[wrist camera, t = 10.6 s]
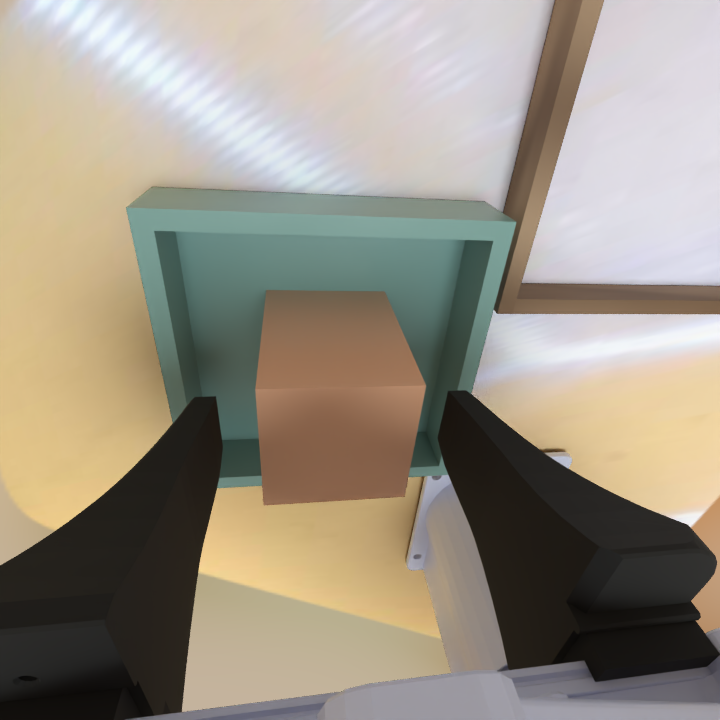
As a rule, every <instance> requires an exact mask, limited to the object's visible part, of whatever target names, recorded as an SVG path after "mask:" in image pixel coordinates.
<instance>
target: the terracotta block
mask: <svg viewBox="0 0 720 720" xmlns="http://www.w3.org/2000/svg"><path fill="white" fill-rule="evenodd" d="M425 389H426V384H425V382H424V379H423V377H422V375H421V373H420V370H419V368H418V366H417V364H416V361H415V359H414V357H413V354H412V352H411V350H410V348H409V345H408V343H407V341H406V339H405V336H404V334H403V332H402V329H401V327H400V325H399V323H398V320H397V318H396V316H395V314H394V311H393V309H392V307H391V304H390V302H389V300H388V298H387V295H386V293H385V292H384V291H305V290H266V298H265V307H264V316H263V325H262V334H261V343H260V352H259V361H258V370H257V379H256V388H255V392H256V406H257V419H258V433H259V447H260V461H261V474H262V488H263V502H264V505H277V504H293V503H310V502H326V501H342V500H358V499H374V498H390V497H405V492H406V487H407V482H408V477H409V471H410V466H411V461H412V456H413V451H414V446H415V441H416V435H417V430H418V425H419V420H420V415H421V410H422V405H423V399H424V394H425Z"/></svg>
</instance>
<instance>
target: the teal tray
mask: <svg viewBox="0 0 720 720" xmlns="http://www.w3.org/2000/svg"><path fill="white" fill-rule="evenodd" d="M126 210H127V214H128V219H129V223H130V228H131V233H132V237H133V242H134V246H135V251H136V256H137V260H138V265H139V269H140V274H141V279H142V283H143V288H144V292H145V297H146V302H147V306H148V311H149V315H150V320H151V325H152V329H153V334H154V338H155V343H156V348H157V352H158V357H159V361H160V366H161V371H162V375H163V380H164V384H165V389H166V394H167V398H168V403H169V408H170V412H171V417H172V421H173V423H174V421H175V420H176V419H177V418H178V416H179V415H180V414H181V413H182V411H183V410H184V409H185V407H186V406H187V405H188V404H189V402H190V401H191V400H192V399H193V398H194V397H209V396H216V400H217V407H218V414H219V422H220V429H221V436H222V443H223V452H222V461H221V469H220V477H219V482H218V486H217V488H228V487H246V486H262V474H261V461H260V447H259V433H258V419H257V406H256V392H255V388H256V379H257V370H258V361H259V352H260V343H261V334H262V325H263V316H264V307H265V298H266V290H305V291H384V292H385V293H386V295H387V298H388V300H389V302H390V304H391V307H392V309H393V311H394V314H395V316H396V318H397V320H398V323H399V325H400V327H401V329H402V332H403V334H404V336H405V339H406V341H407V343H408V345H409V348H410V350H411V352H412V354H413V357H414V359H415V361H416V364H417V366H418V368H419V370H420V373H421V375H422V377H423V379H424V382H425V384H426V389H425V394H424V399H423V405H422V410H421V415H420V420H419V425H418V430H417V435H416V441H415V446H414V451H413V456H412V461H411V466H410V471H409V477H421V476H439V475H448V473H447V470H446V468H445V465H444V462H443V458H442V454H441V451H440V447H439V442H438V433H439V429H440V424H441V420H442V415H443V411H444V406H445V402H446V398H447V393H448V391H456V390H466V391H468V392H469V393H470V394H471V392H472V389H473V385H474V381H475V377H476V374H477V370H478V366H479V362H480V358H481V355H482V351H483V347H484V343H485V340H486V336H487V332H488V328H489V324H490V321H491V317H492V313H493V309H494V305H495V302H496V298H497V294H498V290H499V287H500V283H501V279H502V275H503V271H504V268H505V264H506V260H507V256H508V253H509V249H510V245H511V241H512V237H513V234H514V230H515V226H516V221H514V220H513V219H511V218H510V217H508V216H507V215H505V214H503V213H502V212H500V211H499V210H497V209H496V208H494V207H493V206H491V205H489V204H488V203H486V202H484V201H461V200H438V199H415V198H392V197H369V196H347V195H324V194H301V193H278V192H255V191H233V190H210V189H187V188H164V187H151V188H150V189H149V190H147V191H146V192H145V193H144V194H142V195H141V196H140V197H139V198H137V199H136V200H135V201H134V202H132V203H131V204H130V205H129V206H127V207H126Z"/></svg>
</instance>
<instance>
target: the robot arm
mask: <svg viewBox="0 0 720 720" xmlns="http://www.w3.org/2000/svg"><path fill="white" fill-rule="evenodd" d="M438 442H439V447H440V451H441V454H442V458H443V462H444V465H445V468H446V470H447V473H448V475H439V476H425V477H424V482H423V487H422V491H421V496H420V500H419V505H418V509H417V514H416V518H415V523H414V527H413V532H412V537H411V541H410V546H409V550H408V555H407V559H406V565H407V568H408V569H409V570H423V571H424V575H425V579H426V582H427V586H428V590H429V594H430V597H431V601H432V605H433V608H434V612H435V616H436V620H437V623H438V627H439V631H440V634H441V638H442V642H443V646H444V649H445V653H446V657H447V660H448V664H449V667H450V670H451V672H452V673H449V674H441V675H434V676H425V677H418V678H409V679H402V680H393V681H386V682H378V683H370V684H365V685H361V686H357V687H353V688H349V689H346V690H343V691H341V692H335V693H327V694H320V695H313V696H304V697H296V698H288V699H281V700H273V701H265V702H257V703H249V704H242V705H234V706H226V707H219V708H210V709H203V710H195V711H187V712H182V702H183V692H184V683H185V672H186V663H187V655H188V646H189V638H190V629H191V621H192V613H193V606H194V598H195V590H196V583H197V577H198V570H199V563H200V557H201V552H202V547H203V543H204V539H205V535H206V531H207V527H208V523H209V519H210V515H211V511H212V506H213V502H214V498H215V494H216V490H217V486H218V482H219V477H220V469H221V461H222V452H223V443H222V436H221V429H220V422H219V414H218V407H217V400H216V396H209V397H194V398H193V399H192V400H191V401H190V402H189V404H188V405H187V406H186V407H185V409H184V410H183V411H182V413H181V414H180V415H179V416H178V418H177V419H176V420H175V421H174V423H173V424H172V425H171V426H170V428H169V429H168V430H167V431H166V432H165V433H164V435H163V436H162V437H161V438H160V439H159V440H158V442H157V443H156V444H155V445H154V446H153V447H152V448H151V449H150V450H149V451H148V453H147V454H146V455H145V456H144V457H143V458H142V459H141V460H140V461H139V462H138V463H137V464H136V465H135V466H134V467H133V468H132V469H131V470H130V471H129V472H128V473H127V474H126V475H125V476H124V477H123V478H122V479H121V480H119V481H118V482H117V483H116V484H115V485H114V486H113V487H112V488H110V489H109V490H108V491H107V492H106V493H105V494H104V495H102V496H101V497H100V498H99V499H97V500H96V501H95V502H94V503H92V504H91V505H90V506H89V507H87V508H86V509H85V510H83V511H82V512H81V513H79V514H78V515H77V516H76V517H74V518H73V519H72V520H70V521H69V522H67V523H66V524H65V525H63V526H62V527H60V528H59V529H57V530H56V531H55V532H53V533H52V534H50V535H49V536H47V537H46V538H44V539H43V540H41V541H40V542H38V543H37V544H35V545H33V546H32V547H30V548H29V549H27V550H26V551H24V552H22V553H21V554H19V555H18V556H16V557H14V558H13V559H11V560H9V561H7V562H6V563H4V564H2V565H0V720H720V628H718V629H714V630H711V631H709V632H707V633H706V634H705V633H704V631H703V630H702V629H701V628H700V626H699V625H698V623H697V622H696V621H695V620H699V619H700V617H701V616H700V613H699V611H698V610H697V609H696V607H695V606H694V605H693V603H692V602H691V600H692V599H693V598H694V597H695V596H696V595H697V593H698V592H699V591H700V590H701V589H702V588H703V587H704V586H705V585H706V583H707V582H708V581H709V580H710V579H711V577H712V576H713V574H714V573H715V569H716V565H717V560H716V557H715V555H714V554H713V553H712V552H711V551H710V550H709V548H708V547H707V546H706V545H705V544H704V543H703V541H702V540H701V539H700V538H699V537H698V536H697V535H696V533H695V532H694V531H693V530H692V529H691V528H690V527H689V526H688V525H686V524H684V523H681V522H679V521H676V520H674V519H671V518H669V517H666V516H664V515H661V514H659V513H656V512H653V511H651V510H648V509H646V508H644V507H641V506H639V505H637V504H635V503H633V502H631V501H628V500H626V499H624V498H622V497H620V496H618V495H616V494H614V493H612V492H610V491H608V490H606V489H604V488H602V487H600V486H598V485H596V484H594V483H593V482H591V481H589V480H587V479H585V478H583V477H582V476H580V475H578V474H576V473H575V472H573V471H571V470H570V469H569V467H570V465H571V463H572V458H571V456H570V455H569V454H568V453H567V452H550V453H544V452H542V451H541V450H539V449H538V448H537V447H535V446H534V445H533V444H531V443H530V442H528V441H527V440H526V439H524V438H523V437H522V436H521V435H519V434H518V433H517V432H515V431H514V430H513V429H512V428H511V427H509V426H508V425H507V424H506V423H504V422H503V421H502V420H501V419H500V418H498V417H497V416H496V415H495V414H494V413H493V412H491V411H490V410H489V409H488V408H487V407H486V406H484V405H483V404H482V403H481V402H480V401H479V400H478V399H476V398H475V397H474V396H473V395H472V394H470V393H469V392H468V391H466V390H456V391H448V393H447V398H446V402H445V406H444V411H443V415H442V420H441V424H440V429H439V433H438Z"/></svg>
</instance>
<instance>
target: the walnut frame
mask: <svg viewBox="0 0 720 720" xmlns="http://www.w3.org/2000/svg"><path fill="white" fill-rule="evenodd" d="M603 2H604V0H555V4H554V8H553V13H552V17H551V21H550V25H549V29H548V33H547V37H546V41H545V45H544V49H543V53H542V57H541V61H540V66H539V70H538V74H537V78H536V82H535V86H534V90H533V94H532V98H531V102H530V106H529V110H528V114H527V119H526V123H525V127H524V131H523V135H522V139H521V143H520V147H519V151H518V155H517V159H516V163H515V167H514V171H513V176H512V180H511V184H510V188H509V192H508V196H507V200H506V204H505V208H504V212H503V214H505V215H507V216H508V217H510V218H511V219H513V220H514V221H516V226H515V230H514V234H513V237H512V241H511V245H510V249H509V253H508V256H507V260H506V264H505V268H504V271H503V275H502V279H501V283H500V287H499V290H498V294H497V298H496V302H495V305H494V310H495V311H496V313H497V314H720V286H670V285H597V284H523V283H521V282H522V279H523V275H524V272H525V269H526V265H527V262H528V258H529V255H530V252H531V248H532V245H533V241H534V238H535V234H536V231H537V228H538V224H539V221H540V217H541V214H542V211H543V207H544V204H545V200H546V197H547V194H548V190H549V187H550V183H551V180H552V176H553V173H554V170H555V166H556V163H557V159H558V156H559V153H560V149H561V146H562V142H563V139H564V135H565V132H566V129H567V125H568V122H569V118H570V115H571V112H572V108H573V105H574V101H575V98H576V94H577V91H578V88H579V84H580V81H581V77H582V74H583V71H584V67H585V64H586V60H587V57H588V53H589V50H590V47H591V43H592V40H593V36H594V33H595V30H596V26H597V23H598V19H599V16H600V12H601V9H602V6H603Z"/></svg>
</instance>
